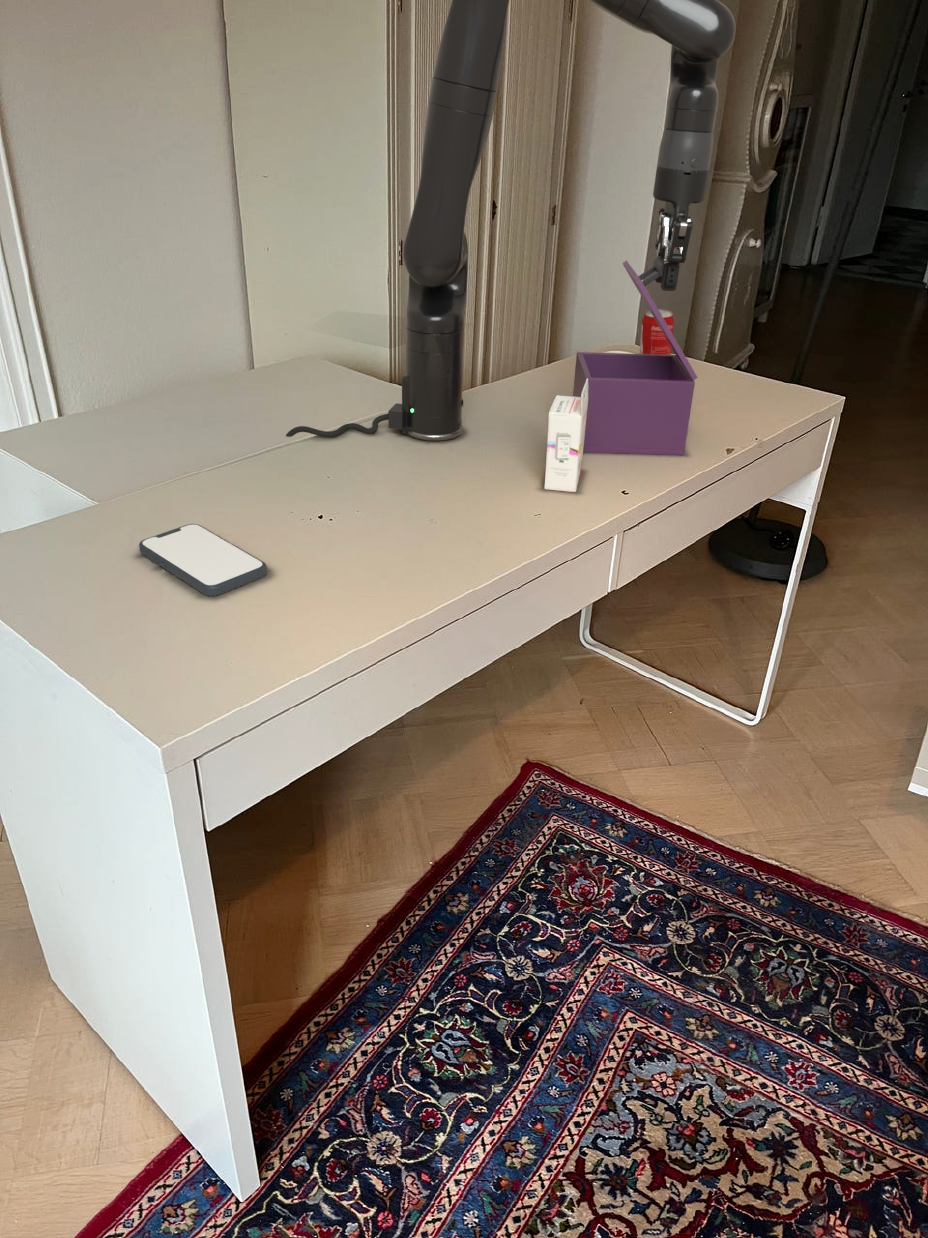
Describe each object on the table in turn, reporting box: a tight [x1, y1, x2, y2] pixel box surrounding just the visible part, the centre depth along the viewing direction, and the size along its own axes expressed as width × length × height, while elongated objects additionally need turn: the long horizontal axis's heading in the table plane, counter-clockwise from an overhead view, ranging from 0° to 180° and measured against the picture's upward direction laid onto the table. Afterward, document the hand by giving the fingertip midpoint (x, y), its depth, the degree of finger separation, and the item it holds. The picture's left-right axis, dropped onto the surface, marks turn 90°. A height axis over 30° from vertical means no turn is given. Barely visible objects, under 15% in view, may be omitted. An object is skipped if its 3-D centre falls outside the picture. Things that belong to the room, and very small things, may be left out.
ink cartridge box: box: [543, 378, 588, 493], centre depth 139 cm, size 9×5×15 cm, turn 168°
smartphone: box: [138, 523, 268, 597], centre depth 117 cm, size 9×2×16 cm
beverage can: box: [638, 308, 675, 355], centre depth 177 cm, size 6×6×15 cm
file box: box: [572, 351, 696, 456], centre depth 157 cm, size 17×15×12 cm
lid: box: [622, 256, 698, 381], centre depth 149 cm, size 18×15×6 cm
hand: (664, 285), depth 147 cm, fingers closed on lid, 5 cm apart
